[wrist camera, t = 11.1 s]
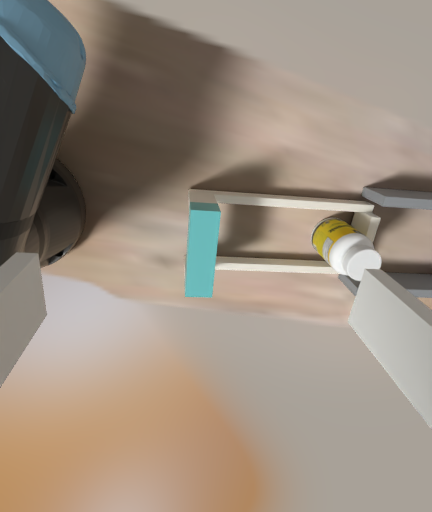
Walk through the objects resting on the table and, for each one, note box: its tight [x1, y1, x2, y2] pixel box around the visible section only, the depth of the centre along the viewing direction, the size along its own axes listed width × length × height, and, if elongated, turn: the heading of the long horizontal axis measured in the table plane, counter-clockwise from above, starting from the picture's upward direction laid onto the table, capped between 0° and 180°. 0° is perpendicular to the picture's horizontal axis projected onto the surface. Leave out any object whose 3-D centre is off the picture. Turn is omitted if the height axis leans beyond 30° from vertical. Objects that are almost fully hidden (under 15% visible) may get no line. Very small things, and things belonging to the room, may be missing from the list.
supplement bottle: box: [311, 218, 382, 281], centre depth 40 cm, size 5×5×10 cm
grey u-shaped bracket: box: [338, 187, 432, 298], centre depth 44 cm, size 16×14×5 cm
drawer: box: [184, 189, 381, 297], centre depth 39 cm, size 24×10×9 cm, turn 85°
